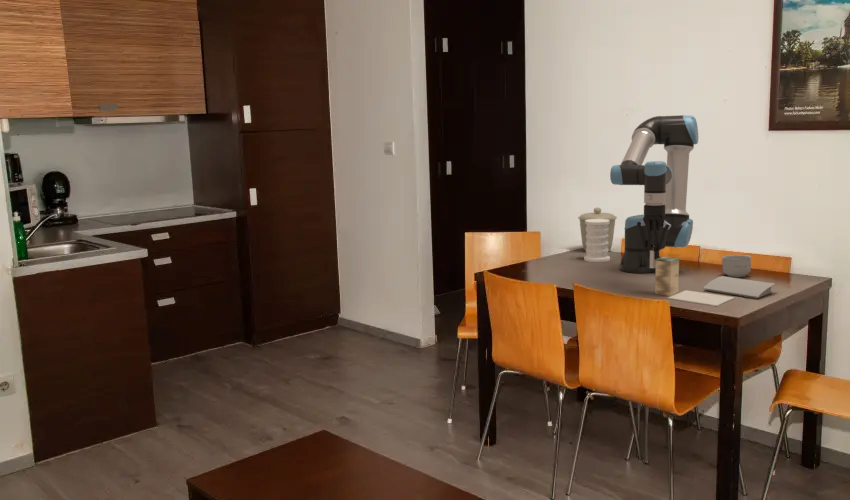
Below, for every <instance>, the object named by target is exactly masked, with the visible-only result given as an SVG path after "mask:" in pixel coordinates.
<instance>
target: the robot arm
mask: <svg viewBox="0 0 850 500" xmlns="http://www.w3.org/2000/svg"><path fill="white" fill-rule="evenodd" d="M698 143H699V129H698V121H697V119H696V117H695V116H693V115H686V114H685V115H684V114H682V115H657V116H652V117H650V118H648V119H646V120H644V121H643V122H641V123H640V124H639V125H638V126H636V128H635V129H634V131H633V132H632V135H631V142H630V144H629V147H628V149H627V150H626V152H625V155H624V156H623V159H622V161H621V163H620V164H614V165H612V166H611V168H610V173H609V174H610V175H609V177H610V179H609V180H610V182H611V184H612V185H614V186H615V185H619V186H644V189H643V190H644V191H643V203H644V205H643V214H636V215H632V216H628V217H627V218H626V219H625V220H624V228H623V229H624V252H623V255H622V257H621V260H620V264H619V269H620V271H622V272H624V273H625V272H626V273H633V274H646V273H647V274H648V273H654V272H655V273H656V259H657V258H660V251H661V250H663V249H665V247H667V248H675V249H676V248H685V247H687V246H688V245H689V244H690V241H691V239H692V234H693V230H694V229H693V228H694V226H693V225H694V220H693V219H691V218H690V214H689V213H688V212H687V198H688V197H687V195H688V194H687V193H688V183H689V181H688V180H689V179H688V177H689V164H690V153H691V152H692V151H693V150H694V148H695V145H697V144H698ZM654 145H663V149H664V150H665V151H666V152H667V153H666V154H667V155H666V161H662V160H659V161H658V160H656V161H652V160H651V161H647V162H645V164H643V163H644V161H645V159H646V157H647V155H648V152H649V150H650V149H651V148H652V147H653V146H654Z"/></svg>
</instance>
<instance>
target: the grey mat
mask: <svg viewBox="0 0 850 500" xmlns="http://www.w3.org/2000/svg"><path fill="white" fill-rule="evenodd" d="M667 299H668V300H675V301H679V302H685V303H687V302H688V303H692V304H699V305H706V306H713V307H719V306H721V305H724V304H726V303H728V302H730V301H732V300H733V299H734V300H735V296H729V295H720V294H715V293H714V294H713V293H706V292H700V291H693V290H687V289H686V290H683V291H681V292H678V293H677V294H675V295H672V296H667Z"/></svg>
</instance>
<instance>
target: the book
mask: <svg viewBox="0 0 850 500" xmlns="http://www.w3.org/2000/svg"><path fill="white" fill-rule="evenodd" d="M775 285H776V283H773V282H772V283H771V282H766V281H759V280H758V281H757V280H750V279H745V278H744V279H743V278H740V277H729V276H723V275H721V276H718V277H716V278H714V279H712V280H710V281H709V282H708V283H706V285H704V286H703V287H702V289H704V290H708V292H713V293H720V294H723V295H724V294H725V295H731V296H737V295H738V296H737V297H743V296H744V297H745V298H751V299H759V298H761V297H764V296H767V295H769V294H771V293H772V287H774V286H775ZM744 297H743V298H744Z"/></svg>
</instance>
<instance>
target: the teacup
mask: <svg viewBox="0 0 850 500" xmlns="http://www.w3.org/2000/svg"><path fill="white" fill-rule="evenodd" d="M721 262H722V264H721V265H722V272H723V273H724V274H725V275H726V277H732V278H742V277H743V278H744V277H746V276H747V275H749V274H750V272H751V267H752V256H751V255H748V254H746V255H745V254H731V255H730V254H729V255H724V256H722V257H721Z"/></svg>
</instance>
